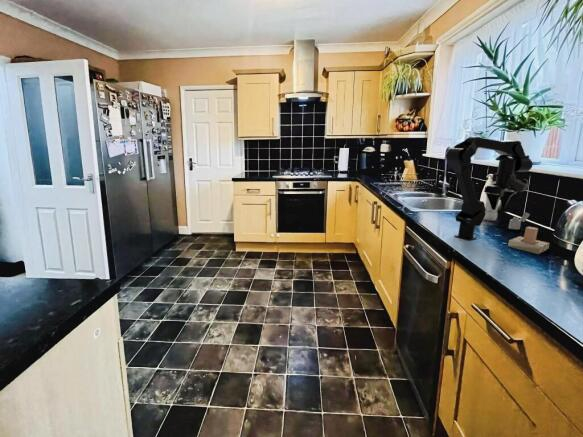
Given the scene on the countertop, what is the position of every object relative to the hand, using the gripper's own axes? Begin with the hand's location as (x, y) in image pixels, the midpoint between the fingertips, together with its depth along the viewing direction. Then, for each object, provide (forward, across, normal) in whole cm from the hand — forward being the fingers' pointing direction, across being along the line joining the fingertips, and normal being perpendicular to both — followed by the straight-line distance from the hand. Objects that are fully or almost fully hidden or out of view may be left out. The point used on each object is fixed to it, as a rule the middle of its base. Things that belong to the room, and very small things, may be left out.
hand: (498, 208), depth 136 cm
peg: (+12, -6, -15) cm, 20 cm away
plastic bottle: (+12, +27, +14) cm, 33 cm away
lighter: (+12, +22, -1) cm, 25 cm away
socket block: (+12, -6, -15) cm, 20 cm away
